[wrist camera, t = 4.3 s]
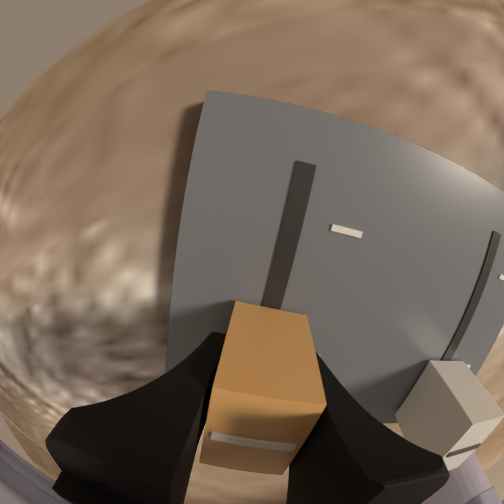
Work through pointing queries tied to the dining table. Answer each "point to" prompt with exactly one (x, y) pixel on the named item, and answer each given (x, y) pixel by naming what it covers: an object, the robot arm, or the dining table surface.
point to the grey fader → (448, 412)
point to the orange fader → (263, 392)
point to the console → (337, 244)
